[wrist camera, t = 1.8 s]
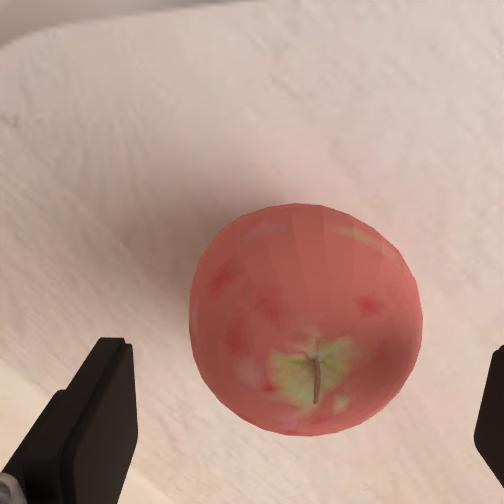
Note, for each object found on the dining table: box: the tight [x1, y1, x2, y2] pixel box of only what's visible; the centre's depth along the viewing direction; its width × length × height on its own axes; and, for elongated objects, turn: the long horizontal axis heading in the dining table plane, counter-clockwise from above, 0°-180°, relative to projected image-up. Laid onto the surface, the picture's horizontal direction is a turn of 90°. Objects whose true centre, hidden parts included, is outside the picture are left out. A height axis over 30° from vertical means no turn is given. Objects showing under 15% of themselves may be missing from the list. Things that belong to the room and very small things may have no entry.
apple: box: [189, 203, 423, 436], centre depth 14 cm, size 7×7×8 cm
